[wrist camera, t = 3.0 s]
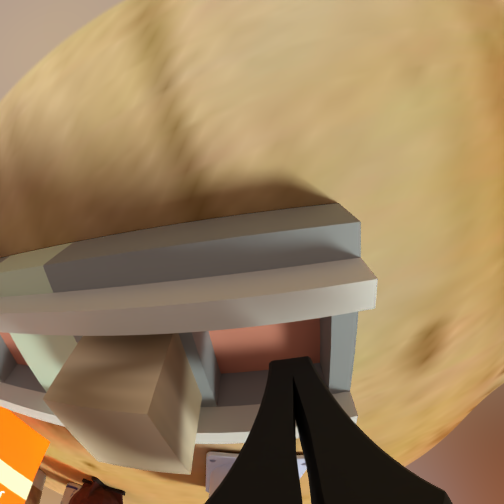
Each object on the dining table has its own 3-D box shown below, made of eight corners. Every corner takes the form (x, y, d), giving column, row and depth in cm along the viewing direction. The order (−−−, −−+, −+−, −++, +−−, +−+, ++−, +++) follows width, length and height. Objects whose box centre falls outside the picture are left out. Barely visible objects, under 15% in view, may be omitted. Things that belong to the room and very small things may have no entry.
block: (175, 325, 10) (147, 413, 6) (202, 396, 12) (190, 474, 8) (87, 329, 10) (42, 398, 7) (123, 394, 12) (98, 461, 8)
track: (338, 203, 11) (379, 238, 7) (335, 382, 15) (351, 439, 11) (-31, 265, 12) (-68, 293, 8) (29, 382, 16) (7, 416, 12)
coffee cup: (3, 446, 25) (-25, 506, 11) (35, 462, 25) (8, 532, 11) (28, 470, 28) (6, 526, 14) (61, 485, 28) (41, 548, 14)
